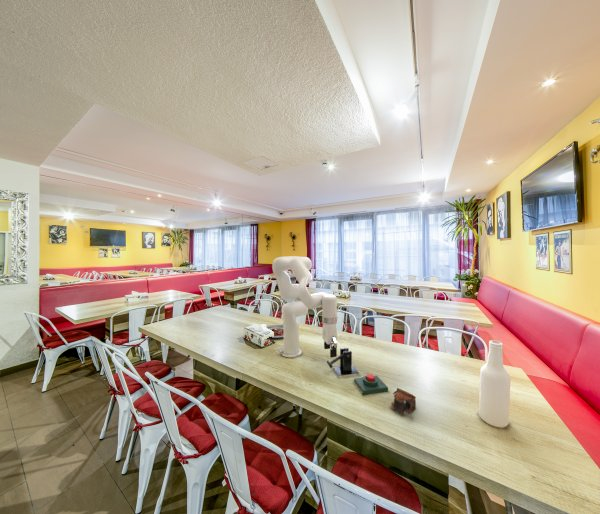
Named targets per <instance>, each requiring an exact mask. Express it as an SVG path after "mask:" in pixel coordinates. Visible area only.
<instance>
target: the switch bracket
mask: <svg viewBox="0 0 600 514" xmlns="http://www.w3.org/2000/svg"><path fill="white" fill-rule="evenodd" d="M344 350H347V351H346V352H343V351H344ZM342 352H343V353H342ZM352 352H353V351H351V350H349V347H341V348H339V356H340V355H342V354H343V357H342V358H341V359H339V365H337V366H333V367H332V369H333V370H334V371H335V372H336V374H337V376H339V377H341V376H349V375H350V376H351V375H357V374H360V372H359V371H358V369H356V367H355V366H354V364H353V353H352Z"/></svg>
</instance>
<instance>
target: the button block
mask: <svg viewBox="0 0 600 514" xmlns="http://www.w3.org/2000/svg"><path fill="white" fill-rule="evenodd" d="M374 376H375V381H373V382H371V381H368V380H367V374H366V375H364V376H362V377H354V378H353V381H354V383H355V384H356V385H357V387H358V388H359V389H360V391H361V392H362V393H361V394H362V396H370V395H375V394H376V395H377V394H383V393H388V392H389V386H388V385H386V384H385V382H384V381H383V380H382V379H381V378H380V377H379V376H378V375H374Z"/></svg>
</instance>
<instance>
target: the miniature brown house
mask: <svg viewBox="0 0 600 514" xmlns="http://www.w3.org/2000/svg"><path fill="white" fill-rule="evenodd" d="M392 395H393V401H392V402H391V403H390V404H391V405H390V406H391V409H392V410H393V411H395V413H397V414H399V415H402V416H404V415H405V413H406V414H407V415H411V414H413V413H414V412H415V411H416V407H417V403H416V402H417V400H416V398H417V397H416V395H414V394H412V393H410V392H408V391H405V390H403V389H401V388H399V387H396V390H395V391H394V392H393V393H392Z"/></svg>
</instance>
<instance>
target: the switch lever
mask: <svg viewBox="0 0 600 514" xmlns="http://www.w3.org/2000/svg"><path fill="white" fill-rule="evenodd" d="M346 351H347V350H344V351H343V352H346ZM343 352H342V353H343ZM342 357H343V354H342V355H340V354H339V355H338V356H337V357H335V358H334V359H332V360H331V361H330V360H327V361H326V364H327V365H328V366H329V368H330V369H333V367H334V366H333V365H334V364H335V363H336V362H338V361H340V359H341V358H342Z"/></svg>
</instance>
